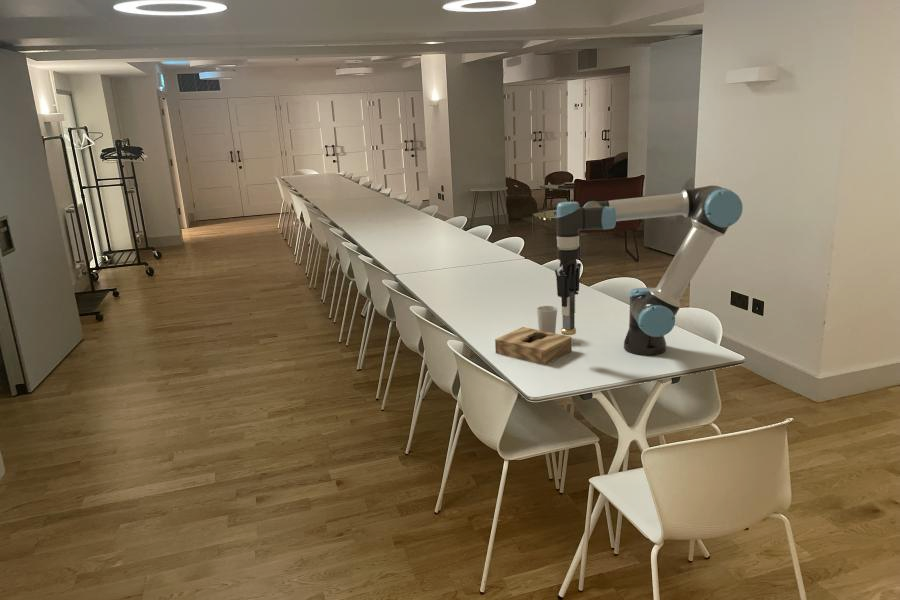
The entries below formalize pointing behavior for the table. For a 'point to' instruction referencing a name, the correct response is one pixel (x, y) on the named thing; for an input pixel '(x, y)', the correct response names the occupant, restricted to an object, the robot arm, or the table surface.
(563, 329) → the stud
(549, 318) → the cup
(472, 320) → the table surface
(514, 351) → the keyhole box
